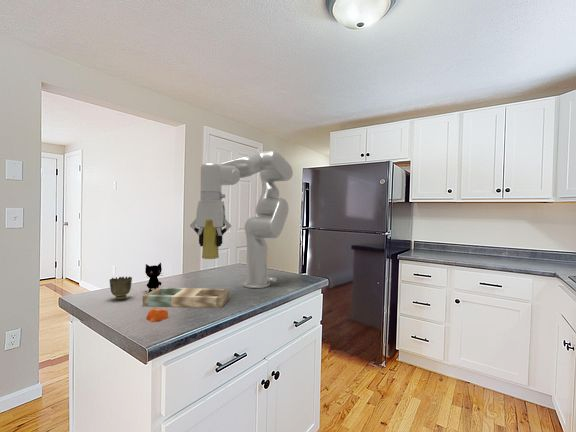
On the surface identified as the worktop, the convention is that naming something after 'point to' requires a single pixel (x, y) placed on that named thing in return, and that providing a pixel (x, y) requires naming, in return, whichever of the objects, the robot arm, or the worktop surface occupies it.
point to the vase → (210, 241)
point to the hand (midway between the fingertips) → (210, 245)
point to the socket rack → (186, 297)
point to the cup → (120, 287)
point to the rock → (157, 315)
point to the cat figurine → (153, 276)
